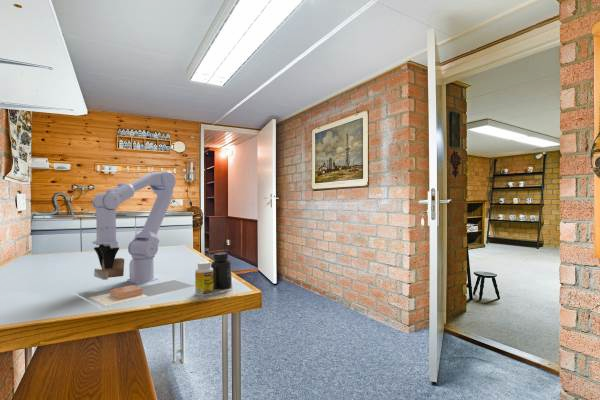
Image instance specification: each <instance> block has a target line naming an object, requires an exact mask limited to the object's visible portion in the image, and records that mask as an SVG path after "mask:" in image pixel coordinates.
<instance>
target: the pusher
mask: <svg viewBox="0 0 600 400" xmlns="http://www.w3.org/2000/svg"><path fill="white" fill-rule="evenodd" d="M93 272H94V273H93V276H94V277H96V278H98V279H100V280H103V281H104V280H105V281H107V280H109V278H116V277H117V278H119V277H123V276H124V274H125V273H124V272H125V258H123V257H115V259H114V263H113V267H112V268H108V269H105V267H104V262H103V259H102V267H101V268H94V271H93Z"/></svg>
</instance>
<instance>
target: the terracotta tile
mask: <svg viewBox="0 0 600 400" xmlns="http://www.w3.org/2000/svg"><path fill="white" fill-rule="evenodd" d="M140 287H141V286H138V285H135V284H132V285H127V286H122V287H117V288H112V289H109V293H110V296H111V297H114V298H116V299H118V300H121V299H126V298H130V297H134V296H139V295H143V288H140Z"/></svg>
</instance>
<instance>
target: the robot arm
mask: <svg viewBox="0 0 600 400" xmlns="http://www.w3.org/2000/svg"><path fill="white" fill-rule="evenodd" d="M176 183H177V180H176V176H175V175H174V173H173V172H172V171H170V170H166V171H156V172H155V171H152V172H149V173H146V174H145V175H142V177H139V178H138V179H136V180H135V181H133V182H131V183H127V182H124V183H123V182H120V183H117V185H116V186H115V187H113V188H107V189H106V191H105V192H100V193H97V194H96V195H95V196H94V198H93V200H91V204H92V207H93V208H94V209H95V214H96V215H95V216H96V217H95V218H96V219H95V221H96V223H95V224H96V225H95V226H96V227H95V228H96V240H95V241H92V244H93V245H95V247H93V249H94V251H95V253H96V254H97V258H98V261H99V265H100V267H101V268H102V259H103V262H104V267H105V269H108V268H112V267H113V263H114V259H115V258H116V256H117V253H118V252H119V250H120V246H119V242H118V240H117V216H116V215H117V209H118V208H119V206H120V204H122V203H124V202H125V201H127V200H129V199H131V198H133V197H134V195H135V193H136V192H138V191H140V190H142V189H145V188H146V187H148V186H149V187H150V188H151V189H152V191H153V193H154V194H155V195H156V199H155V201H154V203H153V205H152V208H151V209H150V212H149V214H148V217H147V218H146V221H145V224H144V225H143V227H142V230H141V231H140V232H139V233H138V234H136V235H134V238H133V239H132V240H131V241H130V242H129V243H128V246H127V252H128V254H129V255H130V256H131V258H132V259H131V260H130V261H129V266H128V267H129V272H128V274H129V278H127V279H126V281H127V282H131V283H135V284H141V283H142V284H143V283H147V282H152V281H156V280H159V278H157V277H155V271H154V268H155V267H154V263H155V262H154V258H155V256H156V255H157V253H158V250H159V243H160V238H158V236H157V235H158V232H159V231H160V228H161V225H162V223H163V220H164V218H165V215H166V213H167V211H168V208H169V206H170V204H171V202H172V200H173V193H174V188H175V186H176Z"/></svg>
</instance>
